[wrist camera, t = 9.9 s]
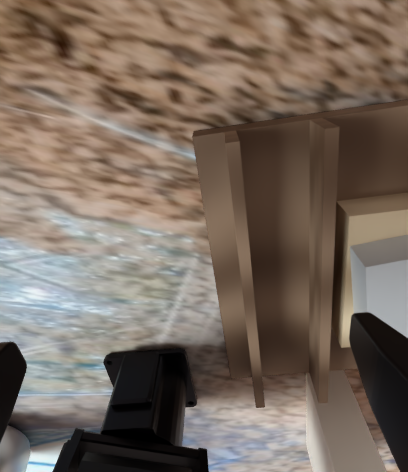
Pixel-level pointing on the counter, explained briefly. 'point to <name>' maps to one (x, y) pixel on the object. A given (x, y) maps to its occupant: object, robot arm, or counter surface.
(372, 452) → the panel
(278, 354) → the rack
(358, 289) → the grey offcut
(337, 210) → the oak offcut
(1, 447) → the plastic bottle
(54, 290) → the counter surface
